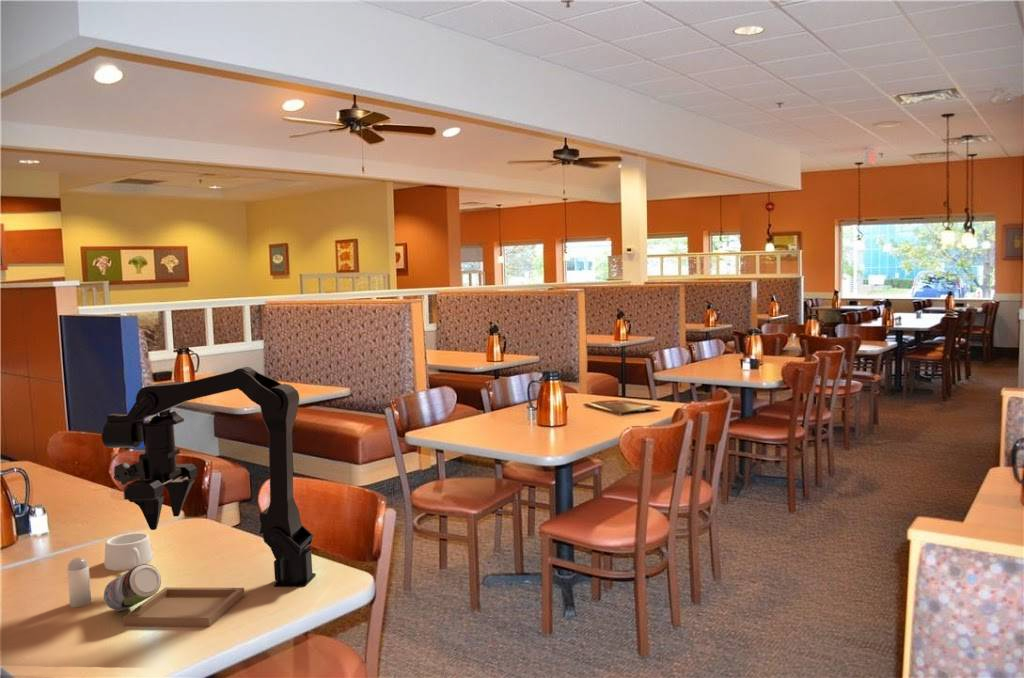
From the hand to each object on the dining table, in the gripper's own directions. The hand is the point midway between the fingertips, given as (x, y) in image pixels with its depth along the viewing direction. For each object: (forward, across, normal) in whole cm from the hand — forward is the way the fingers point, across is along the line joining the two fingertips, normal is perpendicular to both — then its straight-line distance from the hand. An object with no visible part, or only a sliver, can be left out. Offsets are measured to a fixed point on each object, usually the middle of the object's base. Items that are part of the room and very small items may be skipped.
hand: (165, 522), depth 163 cm
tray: (+12, +14, +10) cm, 22 cm away
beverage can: (+6, +18, +6) cm, 19 cm away
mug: (+13, -10, -14) cm, 21 cm away
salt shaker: (+12, +10, -12) cm, 20 cm away
